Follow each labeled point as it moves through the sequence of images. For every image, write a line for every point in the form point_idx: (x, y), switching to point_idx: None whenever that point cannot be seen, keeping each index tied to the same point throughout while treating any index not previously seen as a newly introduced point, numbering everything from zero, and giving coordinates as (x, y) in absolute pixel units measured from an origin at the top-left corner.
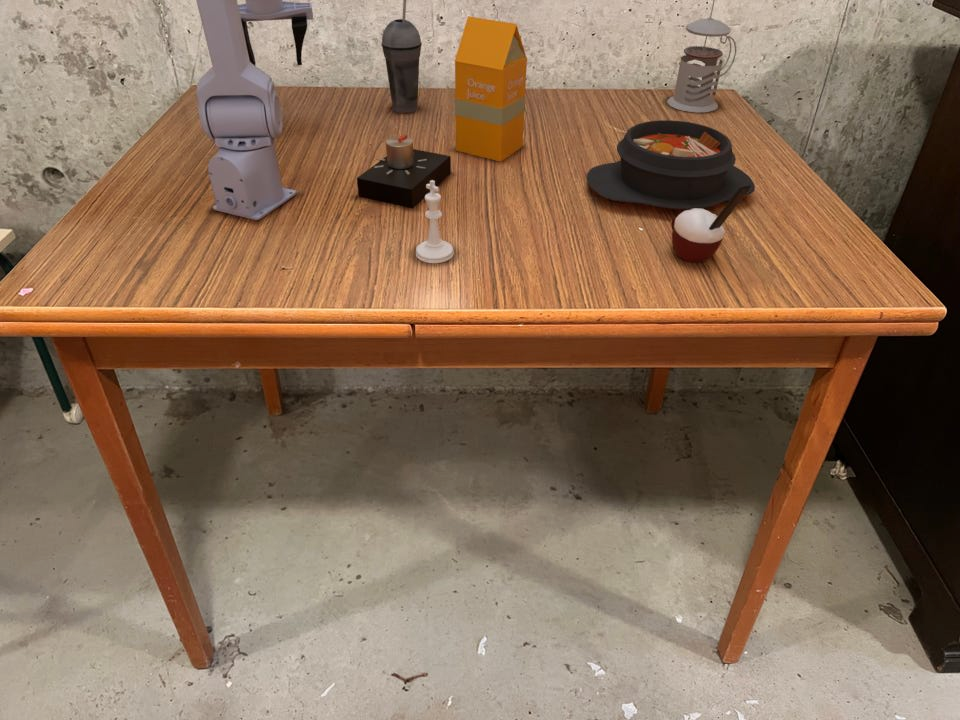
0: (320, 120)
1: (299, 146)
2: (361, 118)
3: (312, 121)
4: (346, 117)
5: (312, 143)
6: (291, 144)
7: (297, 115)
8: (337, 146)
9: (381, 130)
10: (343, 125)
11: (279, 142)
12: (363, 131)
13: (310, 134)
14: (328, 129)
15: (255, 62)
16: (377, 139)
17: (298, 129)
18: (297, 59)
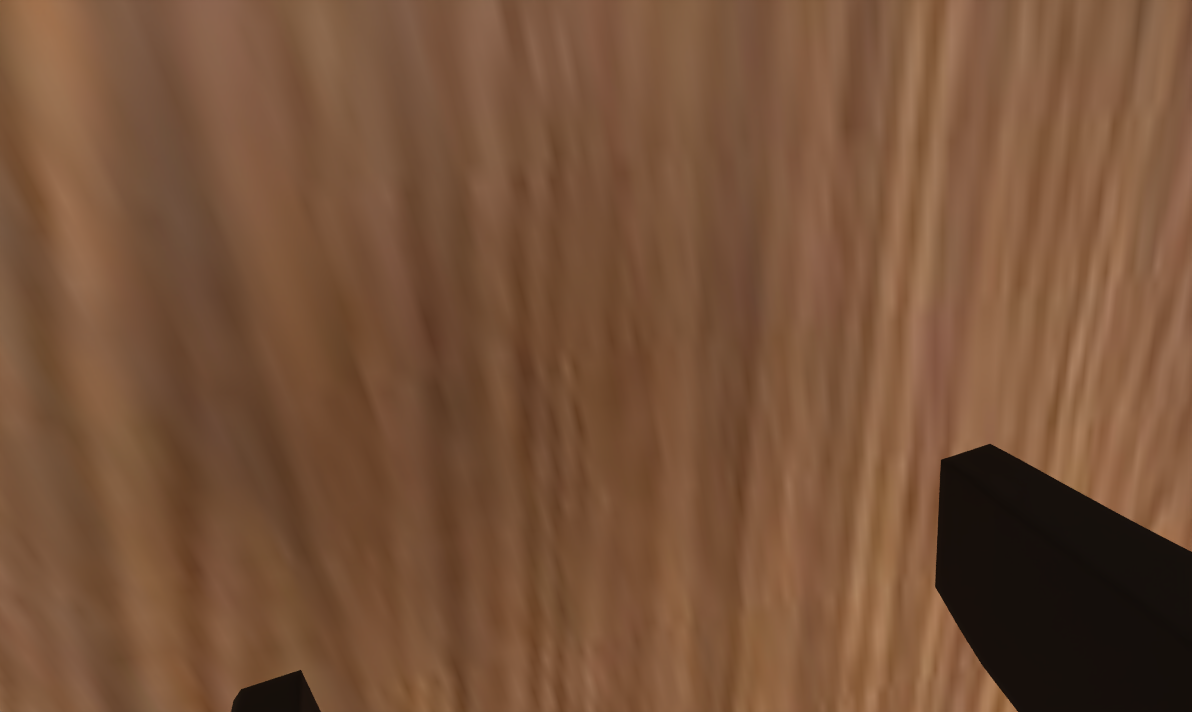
0: (754, 152)
1: (667, 659)
2: (1081, 72)
3: (688, 183)
4: (966, 56)
5: (745, 599)
6: (606, 642)
7: (518, 32)
8: (905, 608)
9: (1187, 310)
10: (941, 247)
11: (512, 630)
12: (1073, 345)
13: (711, 457)
14: (833, 343)
15: (302, 678)
16: (1142, 463)
17: (601, 377)
18: (1000, 673)
